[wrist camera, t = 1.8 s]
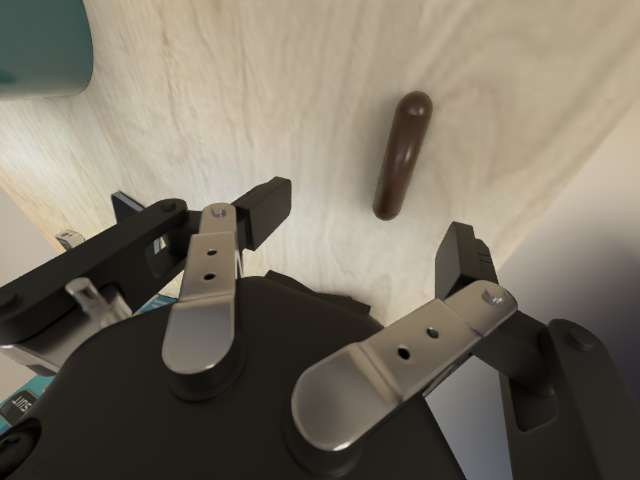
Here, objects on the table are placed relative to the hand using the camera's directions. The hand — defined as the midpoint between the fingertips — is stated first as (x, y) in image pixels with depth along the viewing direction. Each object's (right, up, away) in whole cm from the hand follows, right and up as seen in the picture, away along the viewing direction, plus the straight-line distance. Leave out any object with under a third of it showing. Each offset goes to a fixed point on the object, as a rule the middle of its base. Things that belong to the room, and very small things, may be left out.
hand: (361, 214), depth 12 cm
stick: (+3, +5, +6) cm, 9 cm away
